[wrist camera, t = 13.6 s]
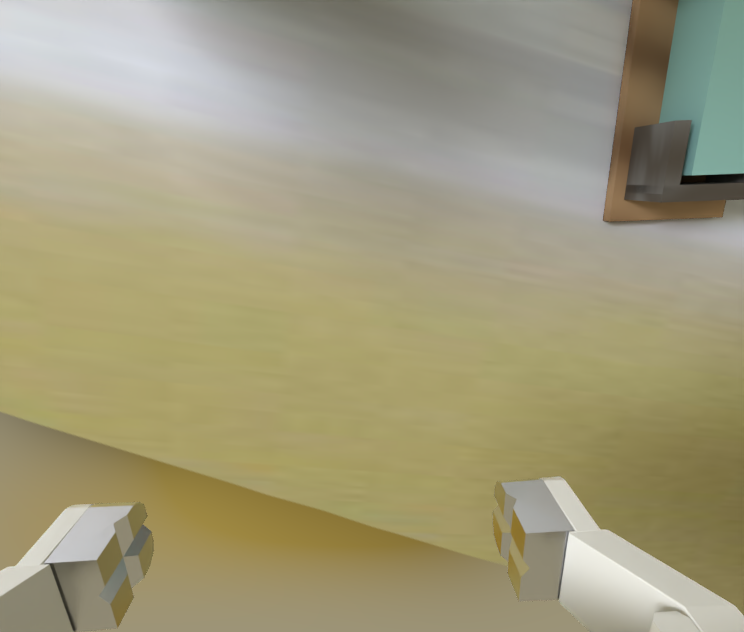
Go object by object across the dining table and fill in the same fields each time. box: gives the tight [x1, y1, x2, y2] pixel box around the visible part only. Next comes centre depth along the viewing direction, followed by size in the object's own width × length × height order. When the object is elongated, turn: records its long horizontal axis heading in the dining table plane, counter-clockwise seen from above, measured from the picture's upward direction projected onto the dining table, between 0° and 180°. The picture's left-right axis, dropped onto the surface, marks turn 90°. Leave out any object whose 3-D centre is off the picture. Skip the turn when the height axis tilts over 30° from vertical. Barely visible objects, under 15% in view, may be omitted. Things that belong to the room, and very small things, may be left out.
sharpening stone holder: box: [603, 0, 744, 222], centre depth 31 cm, size 24×10×6 cm, turn 2°
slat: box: [659, 0, 744, 175], centre depth 31 cm, size 16×4×4 cm, turn 2°
